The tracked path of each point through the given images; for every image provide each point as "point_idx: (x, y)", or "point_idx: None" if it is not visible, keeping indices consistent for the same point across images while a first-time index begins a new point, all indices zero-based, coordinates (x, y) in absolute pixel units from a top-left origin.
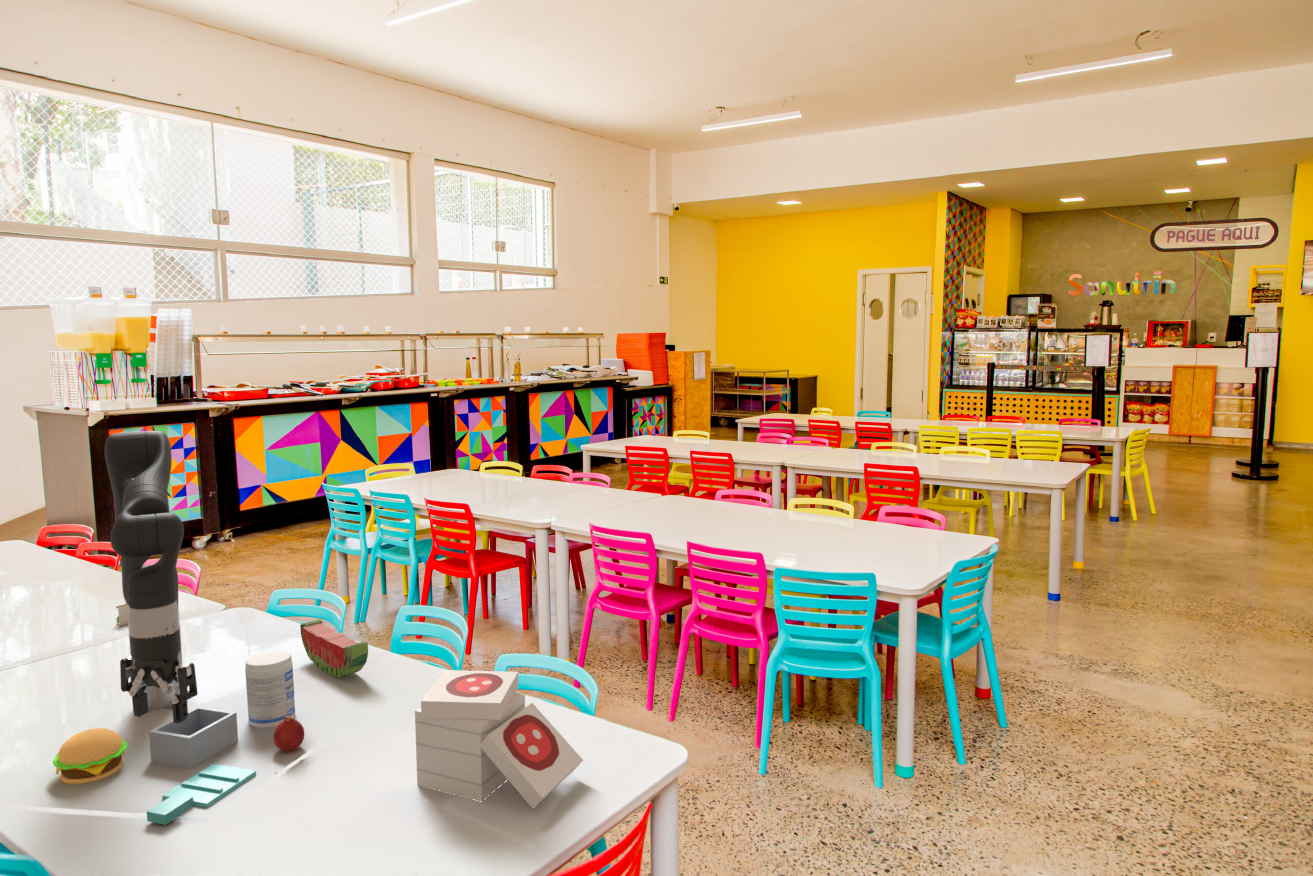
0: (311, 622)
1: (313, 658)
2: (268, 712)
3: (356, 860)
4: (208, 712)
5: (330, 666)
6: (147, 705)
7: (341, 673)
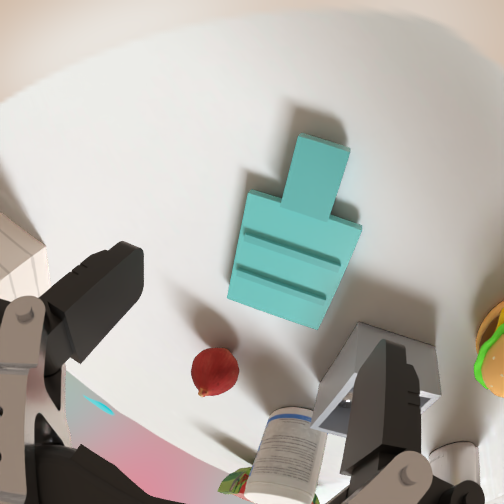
0: None
1: None
2: (284, 427)
3: (22, 99)
4: None
5: None
6: (352, 405)
7: None
